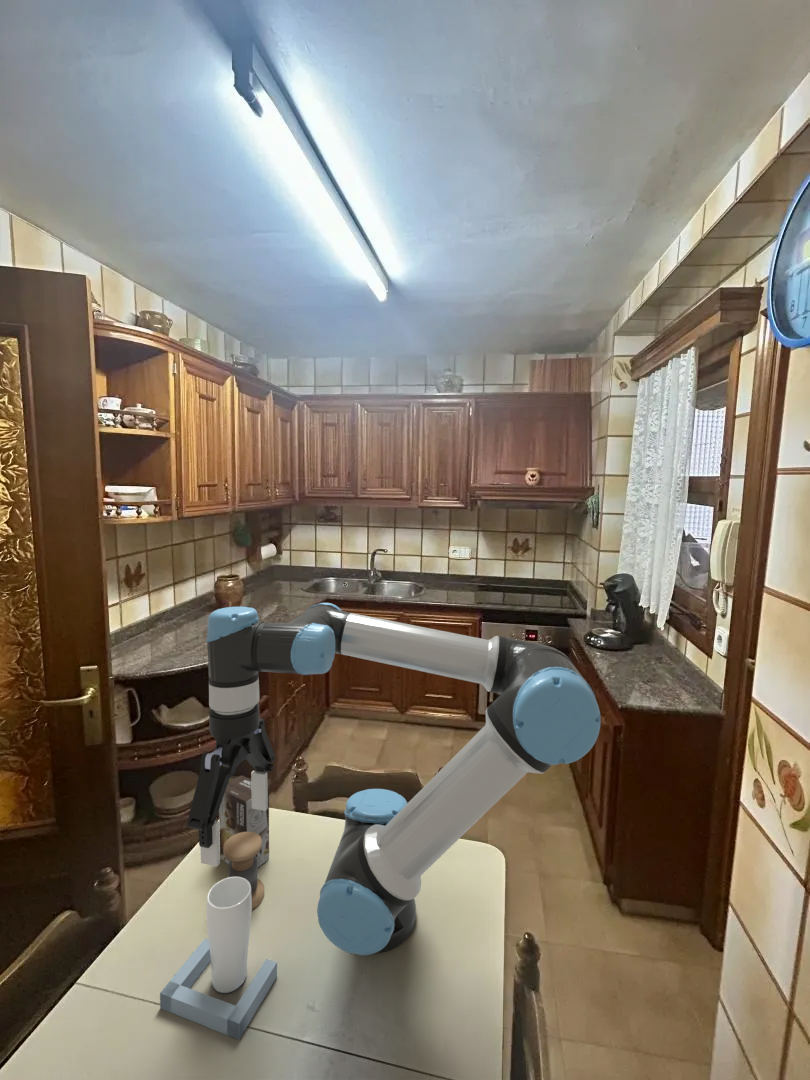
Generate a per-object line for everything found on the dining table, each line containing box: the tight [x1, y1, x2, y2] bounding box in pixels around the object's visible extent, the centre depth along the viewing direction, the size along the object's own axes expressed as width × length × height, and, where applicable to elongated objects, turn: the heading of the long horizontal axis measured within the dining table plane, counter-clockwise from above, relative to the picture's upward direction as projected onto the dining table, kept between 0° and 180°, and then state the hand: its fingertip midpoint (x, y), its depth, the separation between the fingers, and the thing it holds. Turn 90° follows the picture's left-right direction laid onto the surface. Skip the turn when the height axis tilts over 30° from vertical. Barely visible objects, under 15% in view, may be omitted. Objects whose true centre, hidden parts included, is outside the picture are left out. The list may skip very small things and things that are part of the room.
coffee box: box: [218, 774, 270, 869], centre depth 106 cm, size 9×6×16 cm
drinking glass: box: [206, 877, 253, 994], centre depth 79 cm, size 7×7×15 cm
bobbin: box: [223, 832, 265, 911], centre depth 96 cm, size 8×8×11 cm
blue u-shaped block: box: [159, 937, 278, 1041], centre depth 78 cm, size 14×10×2 cm
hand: (237, 833), depth 80 cm, fingers open, 13 cm apart
